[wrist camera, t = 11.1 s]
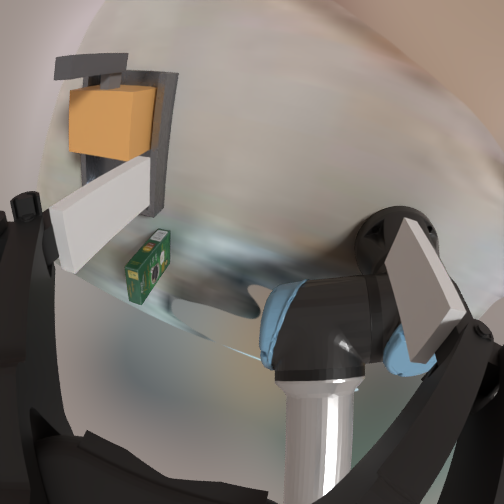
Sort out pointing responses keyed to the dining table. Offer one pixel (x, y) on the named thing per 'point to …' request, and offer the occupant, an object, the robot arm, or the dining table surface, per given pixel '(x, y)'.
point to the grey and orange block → (107, 108)
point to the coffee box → (147, 266)
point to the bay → (160, 134)
